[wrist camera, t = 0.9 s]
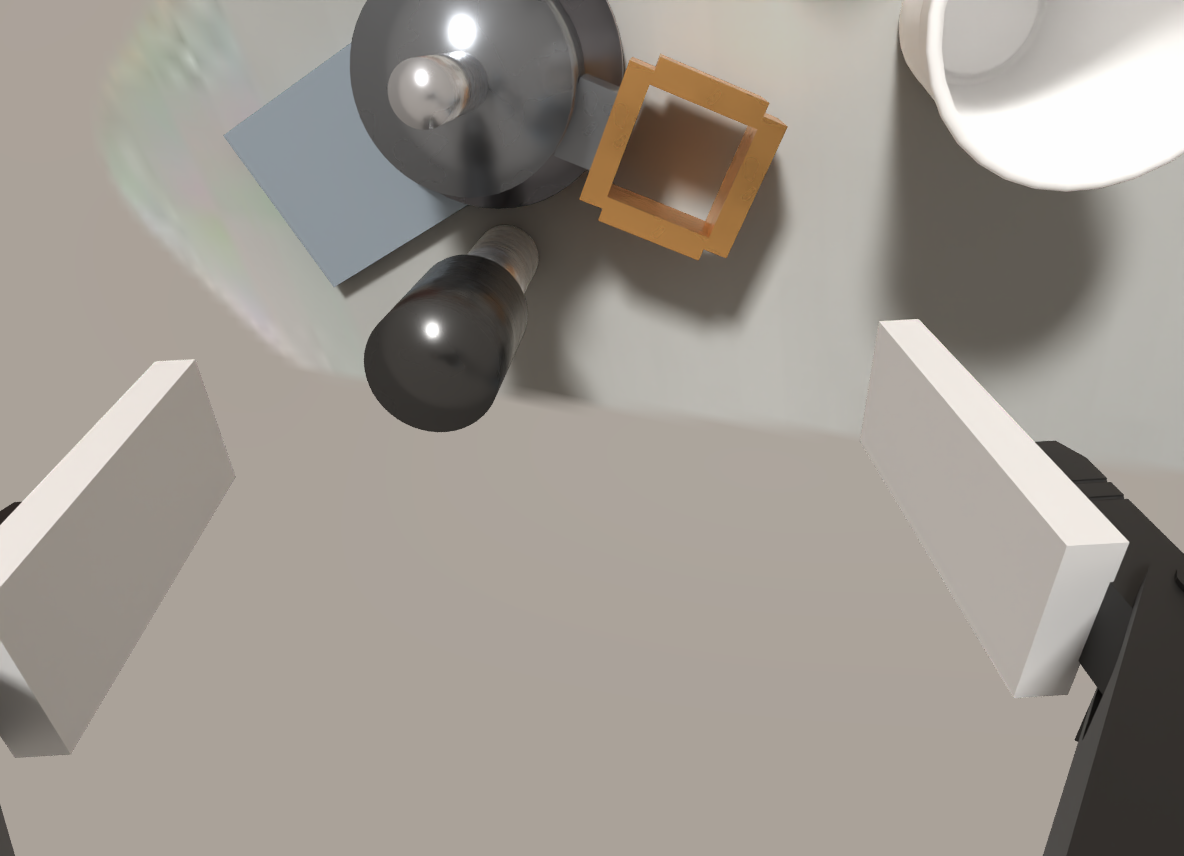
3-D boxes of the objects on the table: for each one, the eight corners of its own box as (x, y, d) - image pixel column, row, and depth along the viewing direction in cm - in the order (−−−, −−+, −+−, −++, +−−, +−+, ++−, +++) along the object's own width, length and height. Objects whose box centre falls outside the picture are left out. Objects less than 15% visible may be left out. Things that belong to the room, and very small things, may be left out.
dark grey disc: (669, 121, 35) (669, 125, 33) (464, 244, 38) (456, 252, 36) (535, -142, 31) (530, -149, 29) (319, 20, 34) (305, 20, 33)
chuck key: (570, 274, 38) (525, 396, 26) (494, 316, 39) (416, 452, 27) (521, 192, 36) (447, 280, 24) (444, 238, 38) (336, 345, 25)
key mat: (472, 201, 37) (468, 204, 36) (340, 282, 39) (333, 287, 38) (367, 34, 34) (361, 35, 33) (231, 133, 36) (223, 135, 36)
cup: (1158, -108, 30) (1402, -171, 20) (1042, 164, 34) (1193, 221, 24) (898, -161, 30) (1014, -252, 20) (816, 119, 34) (877, 157, 24)
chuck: (372, 133, 34) (267, 173, 25) (419, -73, 30) (317, -114, 21) (709, 267, 36) (724, 351, 26) (792, 85, 32) (843, 110, 23)
